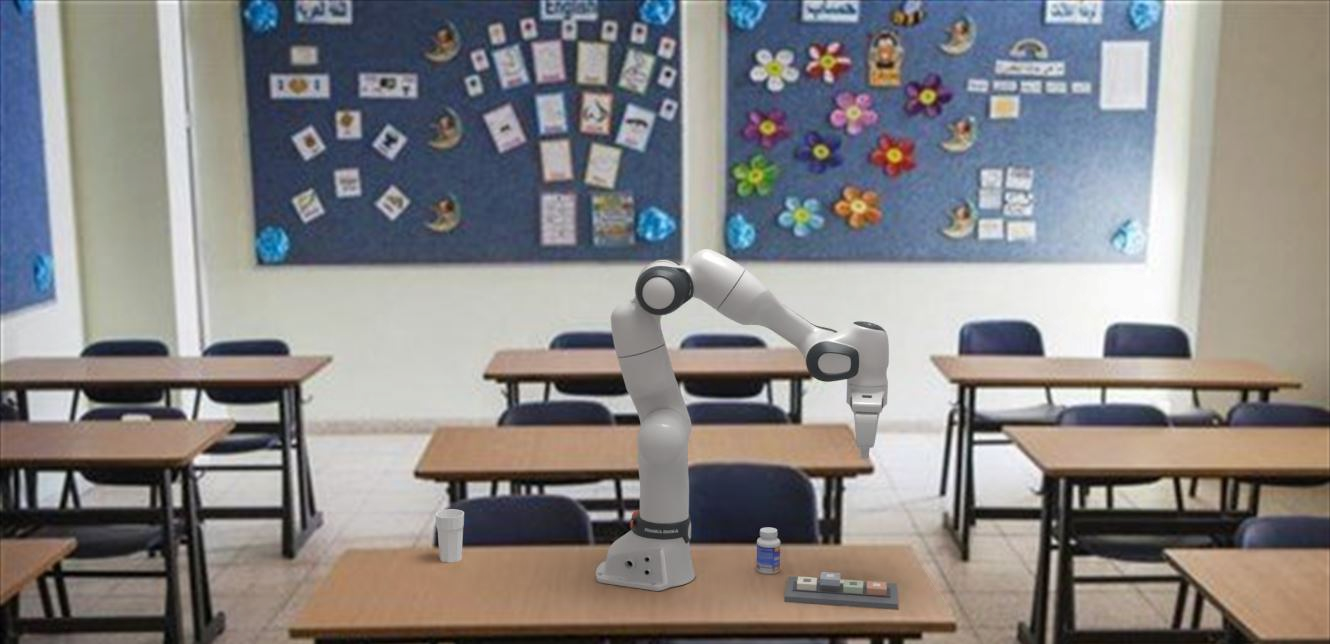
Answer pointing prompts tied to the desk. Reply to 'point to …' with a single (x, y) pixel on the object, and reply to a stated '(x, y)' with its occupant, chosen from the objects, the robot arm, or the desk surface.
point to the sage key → (853, 586)
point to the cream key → (807, 583)
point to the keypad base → (841, 595)
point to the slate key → (830, 579)
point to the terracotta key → (876, 588)
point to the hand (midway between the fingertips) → (864, 457)
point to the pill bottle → (768, 551)
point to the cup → (450, 534)
